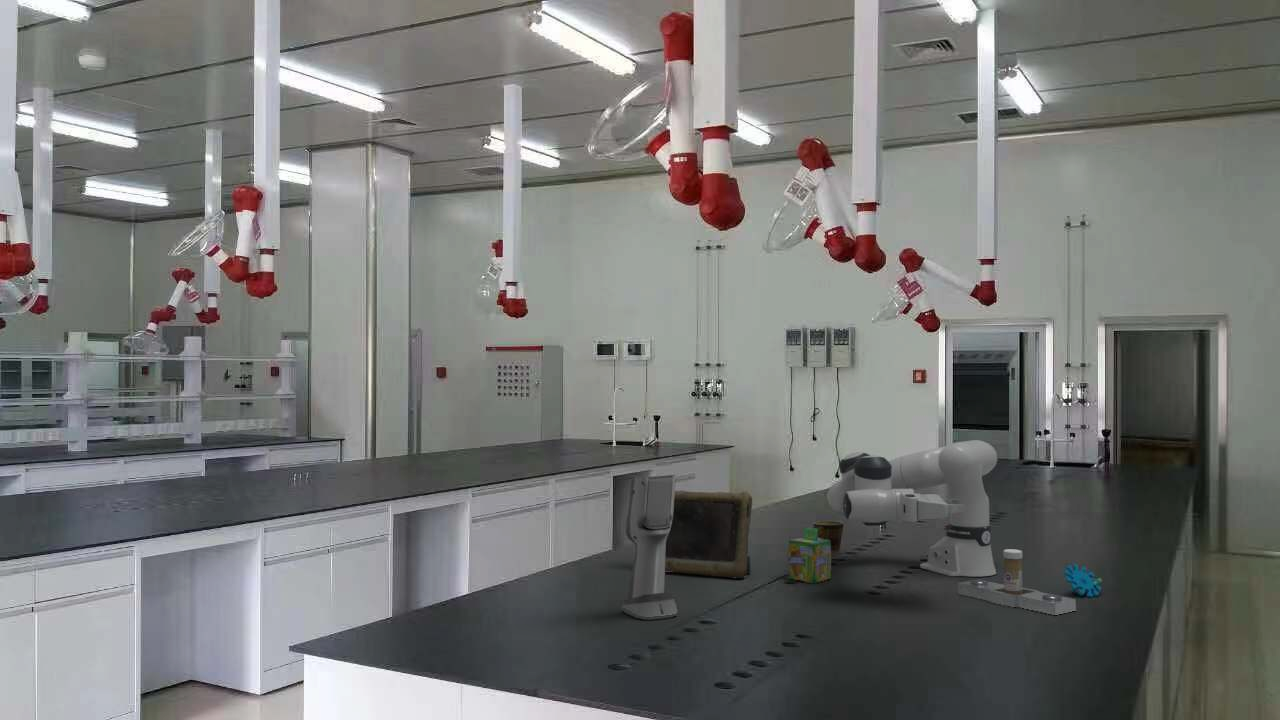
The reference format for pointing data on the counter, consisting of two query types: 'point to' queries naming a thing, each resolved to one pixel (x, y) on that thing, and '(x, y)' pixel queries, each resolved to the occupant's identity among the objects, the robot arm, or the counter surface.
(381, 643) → the counter surface
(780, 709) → the counter surface
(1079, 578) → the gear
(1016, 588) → the sprinkles bottle
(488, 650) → the counter surface
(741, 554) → the brown frame
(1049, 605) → the grey long flat block
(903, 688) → the counter surface
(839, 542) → the brown tapered cylinder
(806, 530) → the chalk box
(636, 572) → the thermal camera
